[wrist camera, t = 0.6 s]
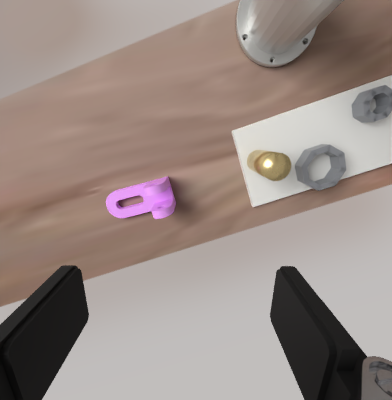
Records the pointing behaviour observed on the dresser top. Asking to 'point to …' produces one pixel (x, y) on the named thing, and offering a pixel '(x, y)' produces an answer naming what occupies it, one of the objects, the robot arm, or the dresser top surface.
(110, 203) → the bracket
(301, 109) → the fitting board
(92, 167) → the dresser top surface
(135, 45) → the dresser top surface
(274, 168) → the brass pipe fitting
